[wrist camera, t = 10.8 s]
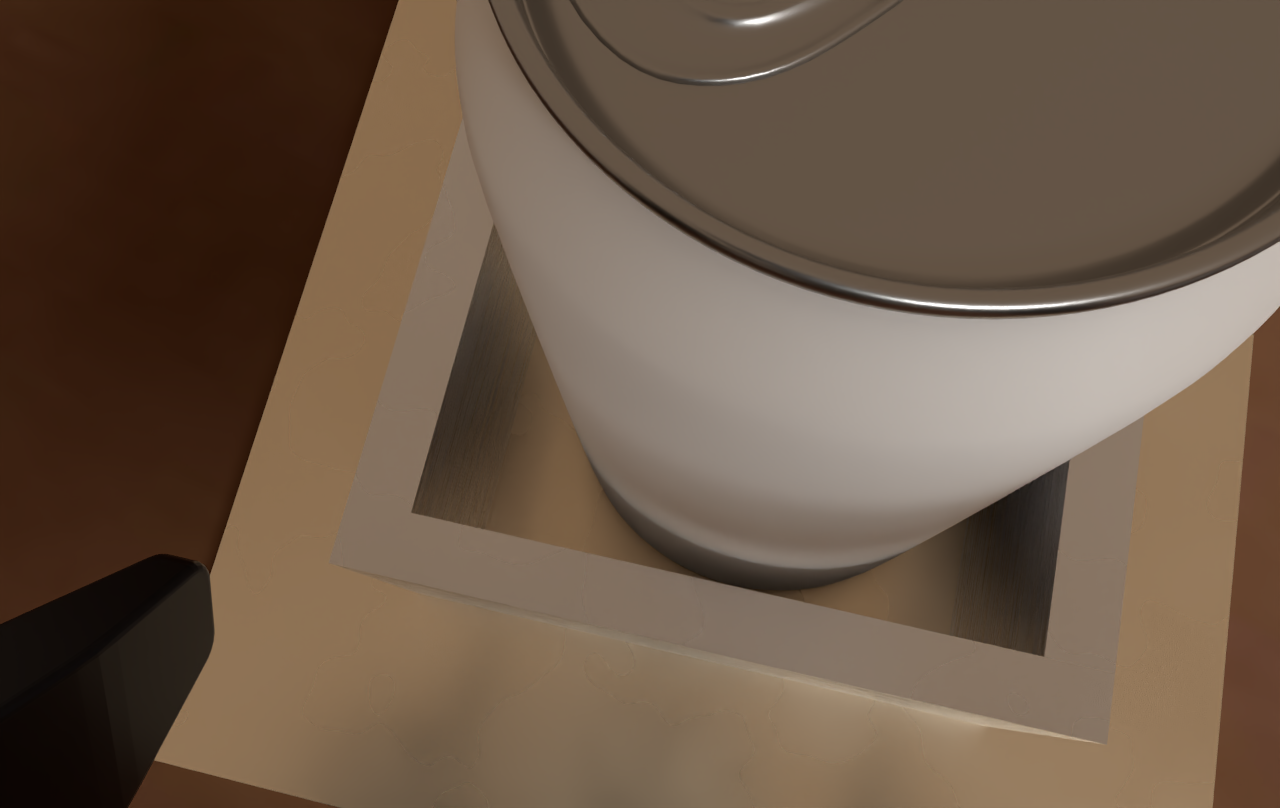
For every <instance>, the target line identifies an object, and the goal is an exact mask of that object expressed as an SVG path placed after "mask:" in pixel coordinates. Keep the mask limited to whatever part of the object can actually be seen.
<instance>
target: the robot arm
mask: <svg viewBox="0 0 1280 808" xmlns="http://www.w3.org/2000/svg"><path fill="white" fill-rule="evenodd" d="M214 635H215V628H214V617H213V606H212V594H211V583H210V576H209V571H208V570H207V568H206V566H205V565H204V564H202V563H200V562H198V561H194V560H190V559H186V558H182V557H177V556H173V555H169V554H158V555H154V556H151V557H149V558H147V559H144V560H142V561H140V562H138V563H135V564H133V565H131V566H129V567H127V568H124V569H122V570H120V571H118V572H115V573H113V574H111V575H109V576H107V577H104V578H102V579H100V580H98V581H95V582H93V583H91V584H89V585H87V586H84V587H82V588H80V589H78V590H75V591H73V592H71V593H69V594H67V595H64V596H62V597H60V598H58V599H55V600H53V601H51V602H49V603H46V604H44V605H42V606H40V607H38V608H35V609H33V610H31V611H29V612H26V613H24V614H22V615H20V616H18V617H15V618H13V619H11V620H9V621H6V622H4V623H2V624H0V808H128V806H129V805H130V803H131V801H132V799H133V798H134V796H135V794H136V792H137V791H138V789H139V787H140V785H141V783H142V781H143V780H144V778H145V776H146V774H147V772H148V770H149V768H150V766H151V765H152V763H153V761H154V759H155V757H156V755H157V753H158V752H159V750H160V748H161V746H162V744H163V742H164V740H165V738H166V737H167V735H168V733H169V731H170V729H171V727H172V725H173V723H174V722H175V720H176V718H177V716H178V714H179V712H180V710H181V709H182V707H183V705H184V703H185V701H186V699H187V697H188V695H189V694H190V692H191V690H192V688H193V686H194V684H195V682H196V680H197V679H198V677H199V675H200V673H201V671H202V669H203V667H204V666H205V664H206V662H207V660H208V658H209V655H210V653H211V650H212V646H213V642H214Z"/></svg>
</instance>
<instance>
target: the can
mask: <svg viewBox="0 0 1280 808" xmlns="http://www.w3.org/2000/svg"><path fill="white" fill-rule="evenodd" d="M455 61H456V74H457V82H458V89H459V97H460V103H461V109H462V115H463V120H464V125H465V131H466V136H467V140H468V143H469V147H470V151H471V155H472V158H473V162H474V165H475V168H476V171H477V174H478V177H479V181H480V184H481V187H482V190H483V193H484V196H485V199H486V202H487V205H488V208H489V211H490V214H491V216H492V219H493V222H494V224H495V227H496V230H497V232H498V235H499V238H500V240H501V243H502V246H503V248H504V251H505V254H506V256H507V259H508V262H509V264H510V267H511V270H512V272H513V275H514V277H515V280H516V283H517V285H518V288H519V290H520V293H521V295H522V298H523V300H524V303H525V306H526V308H527V311H528V313H529V316H530V318H531V321H532V323H533V326H534V329H535V331H536V334H537V336H538V339H539V341H540V344H541V346H542V349H543V351H544V354H545V356H546V359H547V361H548V364H549V366H550V369H551V371H552V374H553V376H554V379H555V381H556V384H557V386H558V388H559V391H560V393H561V396H562V398H563V401H564V403H565V406H566V408H567V411H568V413H569V415H570V418H571V420H572V423H573V425H574V427H575V430H576V432H577V435H578V437H579V439H580V442H581V444H582V446H583V449H584V451H585V453H586V456H587V458H588V460H589V462H590V464H591V466H592V469H593V471H594V473H595V475H596V477H597V479H598V481H599V483H600V484H601V486H602V488H603V490H604V492H605V493H606V495H607V497H608V498H609V500H610V501H611V503H612V505H613V506H614V507H615V509H616V510H617V512H618V513H619V514H620V516H621V517H622V518H623V519H624V520H625V522H626V523H627V524H628V525H629V526H630V527H631V528H632V529H633V530H634V531H635V532H636V533H637V534H638V535H639V536H640V537H641V538H643V539H644V540H645V541H646V542H647V543H648V544H650V545H651V546H652V547H653V548H655V549H656V550H657V551H659V552H660V553H662V554H663V555H664V556H666V557H667V558H669V559H671V560H672V561H674V562H676V563H677V564H679V565H681V566H683V567H685V568H687V569H689V570H691V571H693V572H695V573H697V574H700V575H702V576H705V577H707V578H710V579H713V580H716V581H719V582H723V583H726V584H730V585H734V586H739V587H745V588H751V589H760V590H799V589H808V588H814V587H820V586H825V585H829V584H833V583H836V582H840V581H843V580H846V579H849V578H852V577H854V576H857V575H859V574H862V573H864V572H866V571H869V570H871V569H873V568H875V567H877V566H879V565H881V564H883V563H885V562H887V561H889V560H891V559H893V558H895V557H897V556H898V555H900V554H902V553H904V552H906V551H908V550H910V549H911V548H913V547H915V546H917V545H919V544H921V543H922V542H924V541H926V540H928V539H930V538H932V537H933V536H935V535H937V534H939V533H941V532H942V531H944V530H946V529H948V528H950V527H951V526H953V525H955V524H957V523H959V522H960V521H962V520H964V519H966V518H968V517H969V516H971V515H973V514H975V513H976V512H978V511H980V510H982V509H984V508H985V507H987V506H989V505H991V504H992V503H994V502H996V501H998V500H1000V499H1001V498H1003V497H1005V496H1007V495H1009V494H1010V493H1012V492H1014V491H1016V490H1017V489H1019V488H1021V487H1023V486H1024V485H1026V484H1028V483H1030V482H1031V481H1033V480H1035V479H1037V478H1038V477H1040V476H1042V475H1044V474H1045V473H1047V472H1049V471H1051V470H1052V469H1054V468H1056V467H1058V466H1059V465H1061V464H1063V463H1065V462H1066V461H1068V460H1070V459H1072V458H1073V457H1075V456H1077V455H1078V454H1080V453H1082V452H1084V451H1085V450H1087V449H1089V448H1090V447H1092V446H1094V445H1096V444H1097V443H1099V442H1101V441H1102V440H1104V439H1106V438H1107V437H1109V436H1111V435H1113V434H1114V433H1116V432H1118V431H1119V430H1121V429H1123V428H1124V427H1126V426H1128V425H1130V424H1131V423H1133V422H1135V421H1136V420H1138V419H1140V418H1141V417H1143V416H1144V415H1146V414H1147V413H1149V412H1150V411H1152V410H1153V409H1155V408H1156V407H1158V406H1159V405H1161V404H1163V403H1164V402H1166V401H1167V400H1169V399H1170V398H1172V397H1173V396H1175V395H1176V394H1178V393H1179V392H1181V391H1182V390H1184V389H1186V388H1187V387H1189V386H1190V385H1191V384H1193V383H1194V382H1196V381H1197V380H1198V379H1200V378H1201V377H1202V376H1204V375H1205V374H1206V373H1208V372H1209V371H1210V370H1212V369H1213V368H1214V367H1215V366H1216V365H1218V364H1219V363H1220V362H1221V361H1222V360H1224V359H1225V358H1226V357H1227V356H1228V355H1229V354H1231V353H1232V352H1233V351H1234V350H1235V349H1236V348H1237V347H1239V346H1240V345H1241V344H1242V343H1243V342H1244V341H1245V340H1246V339H1247V338H1248V337H1250V336H1251V335H1252V334H1253V333H1254V332H1255V331H1256V330H1257V329H1258V328H1259V327H1260V326H1261V325H1262V324H1263V323H1264V322H1265V321H1266V320H1267V319H1268V318H1269V317H1270V316H1271V315H1272V314H1273V313H1274V312H1275V311H1276V310H1277V309H1278V307H1279V306H1280V0H457V5H456V16H455Z"/></svg>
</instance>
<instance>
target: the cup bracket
mask: <svg viewBox="0 0 1280 808" xmlns="http://www.w3.org/2000/svg"><path fill="white" fill-rule="evenodd" d="M456 5H457V0H399V1H398V4H397V7H396V10H395V13H394V16H393V20H392V23H391V26H390V29H389V32H388V35H387V38H386V41H385V44H384V47H383V50H382V53H381V56H380V59H379V62H378V65H377V68H376V71H375V74H374V77H373V80H372V83H371V87H370V90H369V93H368V96H367V99H366V102H365V105H364V108H363V111H362V114H361V117H360V120H359V123H358V126H357V129H356V132H355V135H354V138H353V141H352V144H351V147H350V150H349V154H348V157H347V160H346V163H345V166H344V169H343V172H342V175H341V178H340V181H339V184H338V187H337V190H336V193H335V196H334V199H333V202H332V205H331V208H330V211H329V214H328V218H327V221H326V224H325V227H324V230H323V233H322V236H321V239H320V242H319V245H318V248H317V251H316V254H315V257H314V260H313V263H312V266H311V269H310V272H309V275H308V278H307V281H306V285H305V288H304V291H303V294H302V297H301V300H300V303H299V306H298V309H297V312H296V315H295V318H294V321H293V324H292V327H291V330H290V333H289V336H288V339H287V342H286V345H285V348H284V352H283V355H282V358H281V361H280V364H279V367H278V370H277V373H276V376H275V379H274V382H273V385H272V388H271V391H270V394H269V397H268V400H267V403H266V406H265V409H264V412H263V415H262V419H261V422H260V425H259V428H258V431H257V434H256V437H255V440H254V443H253V446H252V449H251V452H250V455H249V458H248V461H247V464H246V467H245V470H244V473H243V476H242V479H241V483H240V486H239V489H238V492H237V495H236V498H235V501H234V504H233V507H232V510H231V513H230V516H229V519H228V522H227V525H226V528H225V531H224V534H223V537H222V540H221V543H220V546H219V550H218V553H217V556H216V559H215V562H214V565H213V568H212V571H211V574H210V583H211V594H212V606H213V617H214V628H215V635H214V642H213V646H212V650H211V653H210V655H209V658H208V660H207V662H206V664H205V666H204V667H203V669H202V671H201V673H200V675H199V677H198V679H197V680H196V682H195V684H194V686H193V688H192V690H191V692H190V694H189V695H188V697H187V699H186V701H185V703H184V705H183V707H182V709H181V710H180V712H179V714H178V716H177V718H176V720H175V722H174V723H173V725H172V727H171V729H170V731H169V733H168V735H167V737H166V738H165V740H164V742H163V744H162V746H161V748H160V750H159V752H158V753H157V755H156V757H155V759H154V760H155V761H159V762H163V763H167V764H171V765H175V766H179V767H183V768H187V769H190V770H194V771H198V772H202V773H206V774H210V775H214V776H218V777H222V778H226V779H230V780H234V781H238V782H242V783H246V784H249V785H253V786H257V787H261V788H265V789H269V790H273V791H277V792H281V793H285V794H289V795H293V796H297V797H301V798H304V799H308V800H312V801H316V802H320V803H324V804H328V805H332V806H336V807H340V808H1212V807H1213V796H1214V784H1215V773H1216V761H1217V750H1218V738H1219V727H1220V715H1221V704H1222V692H1223V681H1224V670H1225V658H1226V647H1227V635H1228V624H1229V612H1230V601H1231V589H1232V578H1233V566H1234V555H1235V543H1236V532H1237V521H1238V509H1239V498H1240V486H1241V475H1242V463H1243V452H1244V440H1245V429H1246V417H1247V406H1248V394H1249V383H1250V372H1251V360H1252V349H1253V337H1254V333H1253V334H1252V335H1251V336H1250V337H1248V338H1247V339H1246V340H1245V341H1244V342H1243V343H1242V344H1241V345H1240V346H1239V347H1237V348H1236V349H1235V350H1234V351H1233V352H1232V353H1231V354H1229V355H1228V356H1227V357H1226V358H1225V359H1224V360H1222V361H1221V362H1220V363H1219V364H1218V365H1216V366H1215V367H1214V368H1213V369H1212V370H1210V371H1209V372H1208V373H1206V374H1205V375H1204V376H1202V377H1201V378H1200V379H1198V380H1197V381H1196V382H1194V383H1193V384H1191V385H1190V386H1189V387H1187V388H1186V389H1184V390H1182V391H1181V392H1179V393H1178V394H1176V395H1175V396H1173V397H1172V398H1170V399H1169V400H1167V401H1166V402H1164V403H1163V404H1161V405H1159V406H1158V407H1156V408H1155V409H1153V410H1152V411H1150V412H1149V413H1147V414H1146V415H1144V416H1143V417H1141V418H1140V419H1138V420H1136V421H1135V422H1133V423H1131V424H1130V425H1128V426H1126V427H1124V428H1123V429H1121V430H1119V431H1118V432H1116V433H1114V434H1113V435H1111V436H1109V437H1107V438H1106V439H1104V440H1102V441H1101V442H1099V443H1097V444H1096V445H1094V446H1092V447H1090V448H1089V449H1087V450H1085V451H1084V452H1082V453H1080V454H1078V455H1077V456H1075V457H1073V458H1072V459H1070V460H1068V461H1066V462H1065V463H1063V464H1061V465H1059V466H1058V467H1056V468H1054V469H1052V470H1051V471H1049V472H1047V473H1045V474H1044V475H1042V476H1040V477H1038V478H1037V479H1035V480H1033V481H1031V482H1030V483H1028V484H1026V485H1024V486H1023V487H1021V488H1019V489H1017V490H1016V491H1014V492H1012V493H1010V494H1009V495H1007V496H1005V497H1003V498H1001V499H1000V500H998V501H996V502H994V503H992V504H991V505H989V506H987V507H985V508H984V509H982V510H980V511H978V512H976V513H975V514H973V515H971V516H969V517H968V518H966V519H964V520H962V521H960V522H959V523H957V524H955V525H953V526H951V527H950V528H948V529H946V530H944V531H942V532H941V533H939V534H937V535H935V536H933V537H932V538H930V539H928V540H926V541H924V542H922V543H921V544H919V545H917V546H915V547H913V548H911V549H910V550H908V551H906V552H904V553H902V554H900V555H898V556H897V557H895V558H893V559H891V560H889V561H887V562H885V563H883V564H881V565H879V566H877V567H875V568H873V569H871V570H869V571H866V572H864V573H862V574H859V575H857V576H854V577H852V578H849V579H846V580H843V581H840V582H836V583H833V584H829V585H825V586H820V587H814V588H808V589H799V590H760V589H751V588H745V587H739V586H734V585H730V584H726V583H723V582H719V581H716V580H713V579H710V578H707V577H705V576H702V575H700V574H697V573H695V572H693V571H691V570H689V569H687V568H685V567H683V566H681V565H679V564H677V563H676V562H674V561H672V560H671V559H669V558H667V557H666V556H664V555H663V554H662V553H660V552H659V551H657V550H656V549H655V548H653V547H652V546H651V545H650V544H648V543H647V542H646V541H645V540H644V539H643V538H641V537H640V536H639V535H638V534H637V533H636V532H635V531H634V530H633V529H632V528H631V527H630V526H629V525H628V524H627V523H626V522H625V520H624V519H623V518H622V517H621V516H620V514H619V513H618V512H617V510H616V509H615V507H614V506H613V505H612V503H611V501H610V500H609V498H608V497H607V495H606V493H605V492H604V490H603V488H602V486H601V484H600V483H599V481H598V479H597V477H596V475H595V473H594V471H593V469H592V466H591V464H590V462H589V460H588V458H587V456H586V453H585V451H584V449H583V446H582V444H581V442H580V439H579V437H578V435H577V432H576V430H575V427H574V425H573V423H572V420H571V418H570V415H569V413H568V411H567V408H566V406H565V403H564V401H563V398H562V396H561V393H560V391H559V388H558V386H557V384H556V381H555V379H554V376H553V374H552V371H551V369H550V366H549V364H548V361H547V359H546V356H545V354H544V351H543V349H542V346H541V344H540V341H539V339H538V336H537V334H536V331H535V329H534V326H533V323H532V321H531V318H530V316H529V313H528V311H527V308H526V306H525V303H524V300H523V298H522V295H521V293H520V290H519V288H518V285H517V283H516V280H515V277H514V275H513V272H512V270H511V267H510V264H509V262H508V259H507V256H506V254H505V251H504V248H503V246H502V243H501V240H500V238H499V235H498V232H497V230H496V227H495V224H494V222H493V219H492V216H491V214H490V211H489V208H488V205H487V202H486V199H485V196H484V193H483V190H482V187H481V184H480V181H479V177H478V174H477V171H476V168H475V165H474V162H473V158H472V155H471V151H470V147H469V143H468V140H467V136H466V131H465V125H464V120H463V115H462V109H461V103H460V97H459V89H458V82H457V74H456V61H455V16H456Z"/></svg>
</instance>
